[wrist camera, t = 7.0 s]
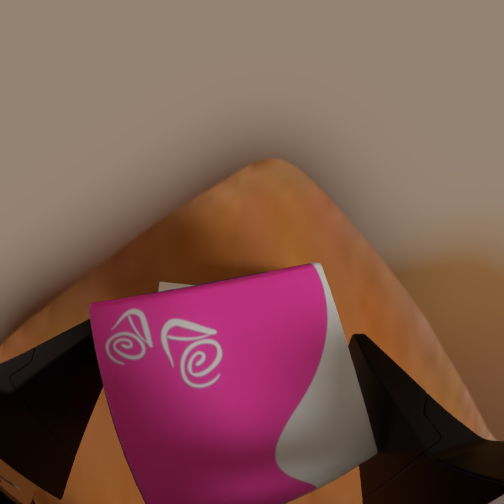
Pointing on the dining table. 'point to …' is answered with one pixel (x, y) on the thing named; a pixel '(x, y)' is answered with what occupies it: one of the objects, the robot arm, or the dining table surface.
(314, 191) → the dining table surface
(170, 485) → the supplement box
